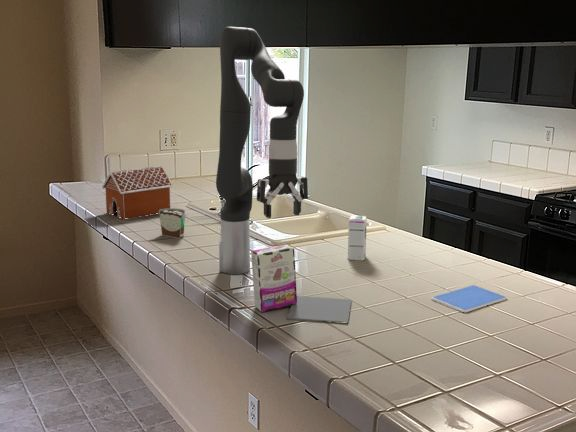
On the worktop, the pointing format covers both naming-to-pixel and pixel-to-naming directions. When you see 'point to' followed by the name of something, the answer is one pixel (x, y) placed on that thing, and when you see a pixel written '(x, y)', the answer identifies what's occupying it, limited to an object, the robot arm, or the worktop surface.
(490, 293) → the tablet computer
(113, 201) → the gingerbread house
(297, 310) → the mat
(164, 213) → the food container
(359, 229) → the syrup box
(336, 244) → the worktop surface
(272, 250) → the candy bar box
